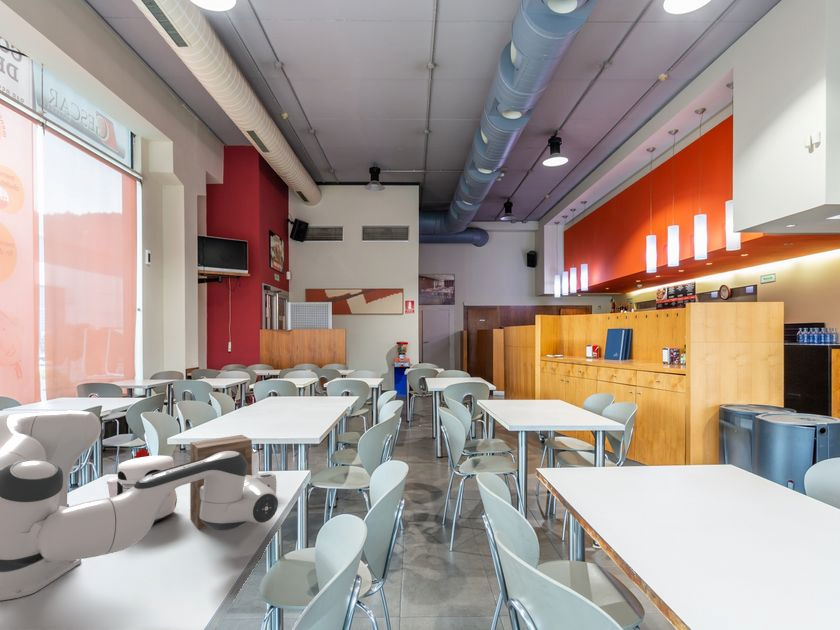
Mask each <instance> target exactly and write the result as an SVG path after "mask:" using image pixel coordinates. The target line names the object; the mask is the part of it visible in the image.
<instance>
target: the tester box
mask: <svg viewBox="0 0 840 630" xmlns="http://www.w3.org/2000/svg"><path fill="white" fill-rule="evenodd" d="M189 443H190V445H189V448H190V452H189V453H190V454H189V455H190V456H189V457H190V459H189V460H190V462H193V461H196V460H200V459H203V458H206V457H208V456H210V455H213V454H216V453H219V452H223V451H236V452H240V453H241V454H242V455H243V457H244V458H245V459H246V461H247V463H248V467H247V472H246V475H251V476H252V450H253V445H252V444H253V441H252V439H251V438H249V437H247V436H245V435H244V434H238V435H231V436H224V437H219V438H217V437H216V438H211V439H205V440H197V441H192V442H189ZM189 484H190V486H189V487H190V489H189V490H190V496H189V497H190V498H189V501H190V504H189V505H190V508H189V510H190V511H189V512H190V515H189V517H190V518H189V519H190V521H191V522H192V523H193V525H194V526H195V527H196V529H197V530H200V529H204V528H209V527H208V526H206V525H205V524H204V523H203V522H202V521H201V520H200V518H199V516H200V506H201V499H200V487H201V486H203V485H204V479H200V480H197V481H194V482H191V483H189Z"/></svg>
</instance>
